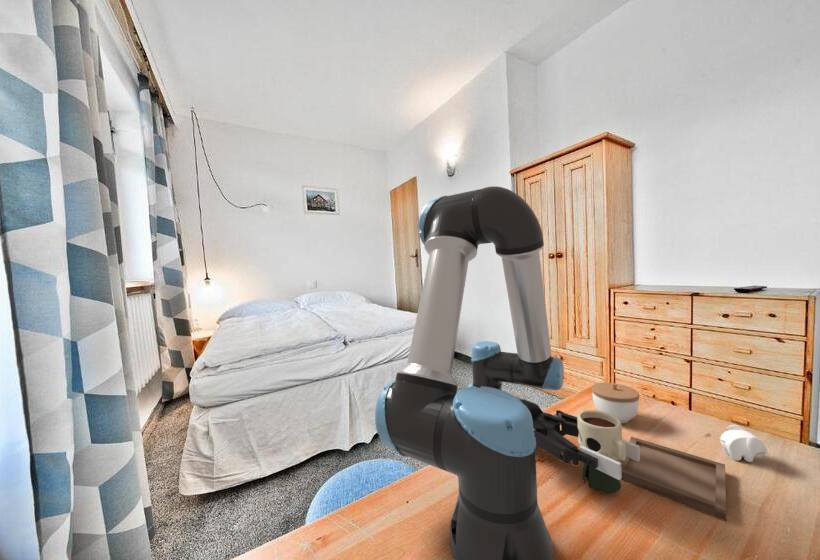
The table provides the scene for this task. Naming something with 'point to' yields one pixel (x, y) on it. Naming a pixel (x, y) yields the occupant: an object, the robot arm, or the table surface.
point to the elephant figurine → (741, 444)
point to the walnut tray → (678, 477)
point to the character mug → (601, 446)
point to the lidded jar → (616, 400)
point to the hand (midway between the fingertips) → (629, 462)
